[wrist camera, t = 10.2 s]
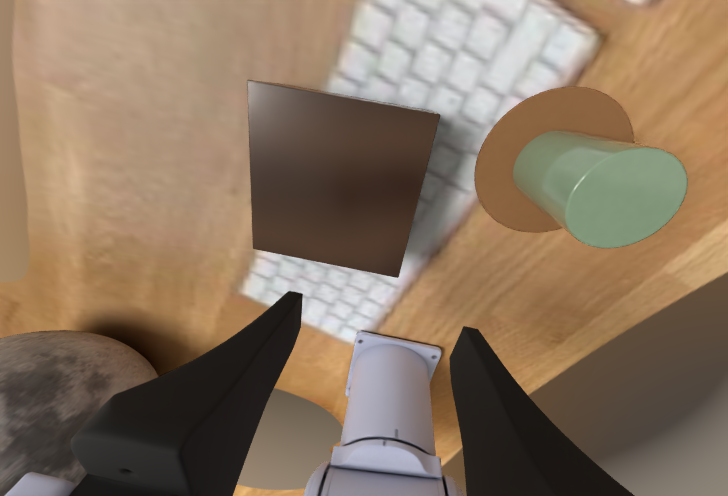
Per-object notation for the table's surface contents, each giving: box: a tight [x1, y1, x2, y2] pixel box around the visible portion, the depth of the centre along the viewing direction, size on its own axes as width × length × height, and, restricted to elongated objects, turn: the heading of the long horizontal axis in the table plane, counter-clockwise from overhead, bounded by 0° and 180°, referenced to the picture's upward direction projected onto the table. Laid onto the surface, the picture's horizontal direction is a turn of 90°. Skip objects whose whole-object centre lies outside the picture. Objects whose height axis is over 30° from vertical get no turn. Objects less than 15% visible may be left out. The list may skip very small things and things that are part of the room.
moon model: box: [0, 330, 159, 496], centre depth 25 cm, size 20×20×20 cm
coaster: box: [475, 87, 633, 232], centre depth 18 cm, size 9×9×1 cm
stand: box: [247, 80, 440, 278], centre depth 19 cm, size 10×10×4 cm
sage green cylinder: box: [513, 130, 688, 248], centre depth 15 cm, size 4×4×7 cm
